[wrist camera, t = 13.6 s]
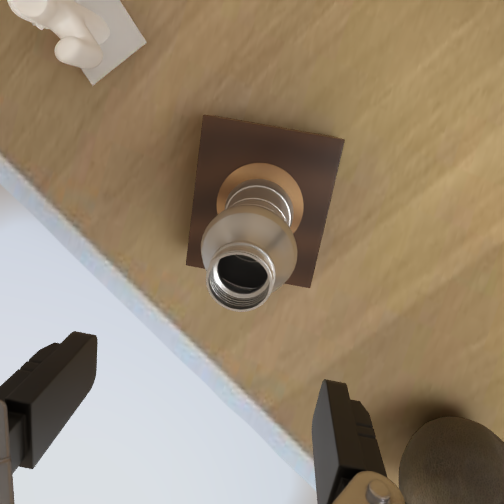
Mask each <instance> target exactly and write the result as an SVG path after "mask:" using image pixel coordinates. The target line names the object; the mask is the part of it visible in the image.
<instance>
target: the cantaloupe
mask: <svg viewBox="0 0 504 504" xmlns="http://www.w3.org/2000/svg"><path fill="white" fill-rule="evenodd" d="M399 490H400V491H401V493H402V495H403V497H404V500H405V502H406V503H407V504H504V442H503V441H502V440H501V439H500V438H499V437H498V436H496V435H495V434H494V433H493V432H492V431H491V430H489V429H488V428H486V427H485V426H483V425H481V424H479V423H477V422H474V421H471V420H468V419H465V418H460V417H441V418H437V419H435V420H432V421H430V422H428V423H426V424H425V425H423V426H422V427H421V428H420V429H419V430H418V431H417V432H416V433H415V434H414V435H413V437H412V438H411V439H410V441H409V443H408V444H407V446H406V449H405V451H404V453H403V455H402V459H401V462H400V467H399Z"/></svg>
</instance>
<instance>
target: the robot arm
mask: <svg viewBox="0 0 504 504" xmlns="http://www.w3.org/2000/svg"><path fill="white" fill-rule="evenodd" d="M96 365H97V337H96V335H91V334H86V333H81V332H76V331H74V332H72V333H71V334H70V335H69V336H68V337H67V338H66V339H65V340H64V341H63V342H62V343H61V344H59V343H53V344H51V345H49V346H47V347H44V348H43V349H40V350H39V351H38V352H37V353H36V354H35V355H34V356H33V357H32V358H30V359H29V362H26V363H25V364H24V365H23V366H22V367H21V369H20V370H17V371H16V372H15V373H14V374H13V375H12V376H11V377H10V378H9V379H8V380H7V381H6V382H4V383H3V384H2V385H1V386H0V504H14V491H13V477H12V474H13V472H14V471H15V470H16V469H17V467H18V466H20V467H25V468H30V469H33V468H34V467H35V465H36V464H37V463H38V461H39V460H40V458H41V457H42V456H43V454H44V453H45V452H46V450H47V449H48V448H49V446H50V445H51V443H52V442H53V440H54V439H55V438H56V436H57V435H58V434H59V432H60V431H61V430H62V428H63V427H64V426H65V424H66V423H67V421H68V420H69V419H70V417H71V416H72V415H73V413H74V412H75V410H76V409H77V407H78V406H79V405H80V404H81V402H82V401H83V399H84V398H85V397H86V395H87V394H88V392H89V391H90V390H91V388H92V385H93V383H94V380H95V376H96ZM372 427H373V426H372V422H371V419H370V415H369V413H368V412H367V410H366V409H365V408H364V406H363V405H362V404H361V402H360V401H355V400H350V397H349V393H348V388H347V385H346V383H341V382H336V381H331V380H326V379H324V380H323V382H322V385H321V389H320V393H319V397H318V400H317V404H316V408H315V412H314V415H313V421H312V443H313V455H314V466H315V478H316V490H317V501H318V504H407V503H406V502H405V500H404V497H403V495H402V493H401V491H400V490H399V488H398V487H397V486H396V485H395V484H394V483H393V482H392V481H391V480H390V479H388V478H387V475H386V471H385V468H384V464H383V461H382V457H381V454H380V450H379V447H378V443H377V440H376V439H375V437H376V436H375V433H374V429H373V428H372Z"/></svg>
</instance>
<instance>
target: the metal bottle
mask: <svg viewBox="0 0 504 504" xmlns="http://www.w3.org/2000/svg"><path fill="white" fill-rule="evenodd" d="M293 213H294V211H293V205H292V202H291V199H290V197H289V196H288V194H287V193H286V192H285V190H284V189H283V188H282V187H280V186H279V185H278V184H276V183H274V182H272V181H269V180H265V179H250V180H247V181H244V182H242V183H240V184H238V185H237V186H236V187H235V188H234V189H233V190H232V191H231V192H230V194H229V195H228V198H227V200H226V204H225V210H224V211H222V212H221V213H220V214H218V215H217V216H216V217H215V218H214V219H213V220H212V221H211V222H210V223H209V225H208V226H207V227H206V229H205V232H204V234H203V236H202V241H201V255H202V260H203V264H204V267H205V269H206V271H207V273H206V285H207V289H208V291H209V294H210V295H211V297H212V298H213V299H214V300H215V301H216V302H217V303H218V304H219V305H221V306H222V307H224V308H226V309H229V310H232V311H238V312H244V311H250V310H254V309H256V308H258V307H259V306H261V305H262V304H263V303H264V302H265V301H266V300H267V299H268V297H269V295H270V293H272V292H274V291H276V290H277V289H278V288H280V287H281V286H282V285H283V284H284V283H285V282H286V281H287V280H288V278H289V277H290V276H291V274H292V272H293V271H294V269H295V265H296V262H297V245H296V241H295V238H294V235H293V232H292V230H291V229H290V226H291V224H292V221H293Z"/></svg>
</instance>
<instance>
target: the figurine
mask: <svg viewBox="0 0 504 504" xmlns="http://www.w3.org/2000/svg"><path fill="white" fill-rule="evenodd" d="M7 1H8V4H9V6H10V8H11V10H12V11H13V12H14V13H15V14H16V15H17V16H19V17H20V18H22V19H24V20H26V21H29V22H31V23H32V25H36V26H37V27H38V28H39V29H40V30H43V29H44V28H45V29H50V30H51V31H53V32H54V33H55V34H56V35H57V36H58V37H59V38H60V39H61V40H60V41H59V42H58V43H57V44H56V46H55V56H56V57H57V59H58V60H59V61H61V62H63V63H65V64H69V65H72V66H76V67H80V68H81V70H82V71H83V72H84V74H85V75H86V77H87V78H88V80H89V81H90V82H91V84H92V85H94V84H96V83H97V82H98V81H99V80H101V79H102V78H103V77H104V76H106V75H107V74H108V73H109V72H111V71H112V70H113V69H114V68H116V67H117V66H118V65H119V64H121V63H122V62H123V61H124V60H126V59H127V58H128V57H129V56H131V55H132V54H133V53H134V52H136V51H137V50H138V49H139V48H141V47H142V46H143V45H144V44H146V43H147V42H146V40H145V39H144V37H143V36H142V34H141V33H140V31H139V30H138V28H137V26H136V25H135V23H134V22H133V20H132V19H131V17H130V16H129V14H128V12H127V11H126V9H125V8H124V6H123V5H122V3H121V2H120V0H7Z"/></svg>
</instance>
